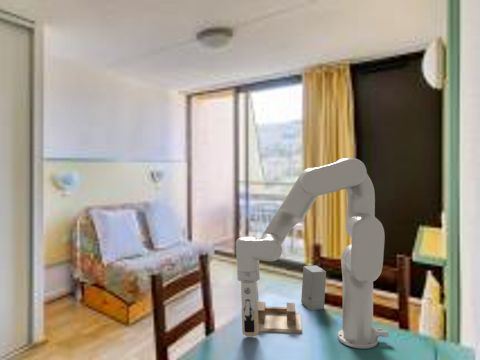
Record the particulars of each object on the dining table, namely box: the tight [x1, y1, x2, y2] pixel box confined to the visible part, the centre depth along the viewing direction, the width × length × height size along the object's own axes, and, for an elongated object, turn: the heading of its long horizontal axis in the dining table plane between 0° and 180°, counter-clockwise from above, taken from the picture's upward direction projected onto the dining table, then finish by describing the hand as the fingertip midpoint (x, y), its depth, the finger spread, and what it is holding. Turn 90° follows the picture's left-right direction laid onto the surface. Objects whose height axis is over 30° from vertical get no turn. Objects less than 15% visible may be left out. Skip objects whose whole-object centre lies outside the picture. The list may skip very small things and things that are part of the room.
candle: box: [241, 309, 260, 337], centre depth 121 cm, size 6×6×10 cm
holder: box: [258, 301, 303, 334], centre depth 132 cm, size 18×14×6 cm
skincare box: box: [300, 264, 327, 311], centre depth 147 cm, size 8×7×16 cm
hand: (250, 326), depth 121 cm, fingers closed on candle, 5 cm apart
